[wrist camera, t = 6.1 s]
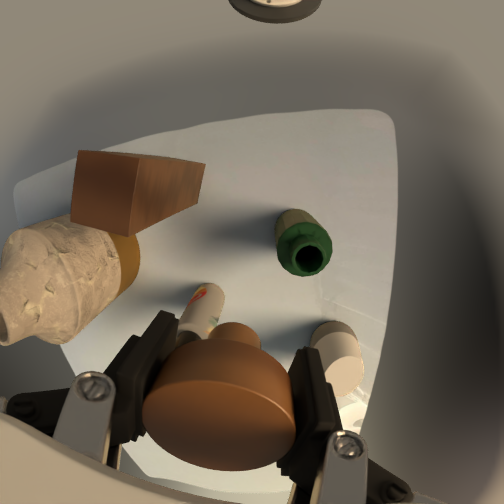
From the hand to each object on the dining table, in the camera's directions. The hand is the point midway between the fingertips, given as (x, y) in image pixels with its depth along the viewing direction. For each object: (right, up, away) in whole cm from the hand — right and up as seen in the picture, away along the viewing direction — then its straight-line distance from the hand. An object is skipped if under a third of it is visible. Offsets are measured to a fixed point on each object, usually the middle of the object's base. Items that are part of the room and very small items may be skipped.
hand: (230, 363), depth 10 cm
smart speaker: (+17, -13, +44) cm, 49 cm away
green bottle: (+8, +8, +38) cm, 40 cm away
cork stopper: (0, 0, +1) cm, 1 cm away
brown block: (-11, +17, +37) cm, 42 cm away
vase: (-30, +4, +42) cm, 51 cm away
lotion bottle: (-7, -4, +43) cm, 44 cm away
